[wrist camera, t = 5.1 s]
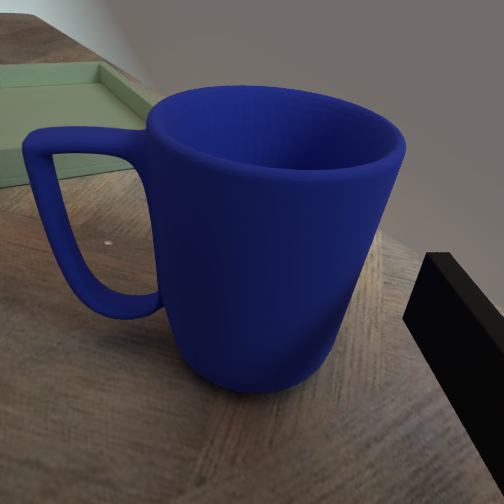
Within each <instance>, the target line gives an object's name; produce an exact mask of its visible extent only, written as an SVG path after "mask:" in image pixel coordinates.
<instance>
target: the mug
mask: <svg viewBox="0 0 504 504" xmlns="http://www.w3.org/2000/svg"><path fill="white" fill-rule="evenodd" d="M405 151H406V143H405V139H404V137H403V136H402V134H401V132H400V131H399V130H398V128H396V127H395V126H394V125H393V124H392V123H391V122H389V121H388V120H387V119H385V118H384V117H382V116H380V115H378V114H376V113H375V112H373V111H370V110H368V109H366V108H363V107H361V106H358V105H356V104H353V103H350V102H347V101H344V100H341V99H337V98H333V97H329V96H326V95H321V94H317V93H312V92H306V91H301V90H294V89H287V88H278V87H267V86H245V85H240V86H216V87H205V88H199V89H193V90H188V91H185V92H181V93H177V94H175V95H172V96H169V97H167V98H165V99H163V100H161V101H160V102H158V103H157V104H156V105H155V106H154V107H153V108H152V109H151V110H150V112H149V113H148V116H147V120H146V128H145V129H142V130H133V129H122V128H111V127H96V126H60V127H47V128H39V129H36V130H34V131H32V132H30V133H29V134H28V135H27V136H26V138H25V139H24V140H23V142H22V154H23V159H24V164H25V168H26V171H27V175H28V178H29V181H30V185H31V188H32V191H33V195H34V198H35V201H36V205H37V208H38V211H39V214H40V217H41V220H42V223H43V226H44V229H45V232H46V235H47V238H48V241H49V243H50V246H51V248H52V251H53V253H54V255H55V258H56V260H57V263H58V265H59V267H60V269H61V271H62V273H63V275H64V277H65V279H66V281H67V282H68V284H69V286H70V287H71V289H72V291H73V292H74V293H75V295H76V296H77V297H78V298H79V300H80V301H81V302H82V303H84V304H85V305H86V306H87V307H88V308H90V309H91V310H93V311H94V312H96V313H98V314H100V315H103V316H105V317H109V318H113V319H120V320H132V319H138V318H142V317H146V316H149V315H151V314H153V313H155V312H156V311H158V310H160V309H161V308H163V307H165V309H166V312H167V316H168V319H169V323H170V326H171V330H172V333H173V336H174V339H175V342H176V344H177V346H178V349H179V351H180V353H181V354H182V356H183V357H184V359H185V360H186V362H187V363H188V364H189V365H190V366H191V367H192V368H193V369H194V370H195V371H196V372H197V373H198V374H199V375H201V376H202V377H204V378H205V379H207V380H209V381H210V382H212V383H214V384H216V385H218V386H221V387H223V388H226V389H229V390H233V391H238V392H243V393H253V394H258V393H272V392H277V391H281V390H284V389H288V388H290V387H292V386H295V385H297V384H299V383H301V382H302V381H304V380H305V379H307V378H308V377H309V376H311V375H312V374H313V373H314V372H315V371H316V370H317V369H318V368H319V367H320V366H321V364H322V363H323V362H324V360H325V359H326V357H327V356H328V354H329V352H330V351H331V349H332V346H333V344H334V341H335V339H336V336H337V334H338V331H339V328H340V326H341V323H342V321H343V318H344V315H345V313H346V310H347V307H348V305H349V302H350V299H351V297H352V294H353V291H354V289H355V286H356V283H357V281H358V278H359V275H360V273H361V270H362V267H363V265H364V262H365V260H366V257H367V254H368V252H369V249H370V246H371V244H372V241H373V238H374V236H375V233H376V230H377V228H378V225H379V222H380V220H381V217H382V214H383V212H384V209H385V206H386V204H387V201H388V198H389V196H390V193H391V190H392V188H393V185H394V182H395V180H396V177H397V175H398V172H399V169H400V167H401V164H402V161H403V159H404V155H405ZM68 153H83V154H100V155H108V156H113V157H119V158H121V159H123V160H126V161H127V162H129V163H130V164H131V165H132V166H133V167H134V168H135V170H136V171H137V172H138V174H139V176H140V178H141V180H142V183H143V186H144V190H145V194H146V198H147V203H148V208H149V214H150V220H151V226H152V234H153V242H154V251H155V261H156V271H157V283H158V292H155V293H153V294H148V295H125V294H122V293H118V292H115V291H113V290H111V289H109V288H107V287H106V286H104V285H103V284H101V283H100V282H99V281H98V280H97V279H96V278H95V277H94V275H93V274H92V272H91V271H90V270H89V268H88V266H87V265H86V263H85V261H84V259H83V257H82V255H81V253H80V250H79V248H78V246H77V243H76V240H75V237H74V235H73V232H72V229H71V226H70V223H69V219H68V216H67V212H66V209H65V205H64V202H63V198H62V194H61V190H60V186H59V182H58V178H57V174H56V170H55V166H54V161H53V156H52V155H54V154H68Z"/></svg>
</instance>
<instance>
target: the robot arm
mask: <svg viewBox="0 0 504 504" xmlns="http://www.w3.org/2000/svg"><path fill="white" fill-rule="evenodd" d="M402 319H403V321H404V322H405V324H406V326H407V328H408V329H409V331H410V333H411V335H412V336H413V338H414V340H415V342H416V343H417V345H418V347H419V349H420V351H421V352H422V354H423V356H424V358H425V359H426V361H427V363H428V365H429V366H430V368H431V370H432V372H433V373H434V375H435V377H436V379H437V380H438V382H439V384H440V386H441V387H442V389H443V391H444V393H445V394H446V396H447V398H448V400H449V401H450V403H451V405H452V407H453V408H454V410H455V412H456V414H457V415H458V417H459V419H460V421H461V422H462V424H463V426H464V428H465V429H466V431H467V433H468V435H469V437H470V438H471V440H472V442H473V444H474V445H475V447H476V449H477V451H478V452H479V454H480V456H481V458H482V459H483V461H484V463H485V465H486V466H487V468H488V470H489V472H490V473H491V475H492V477H493V479H494V480H495V482H496V484H497V486H498V487H499V489H500V491H501V493H502V494H503V496H504V317H503V316H502V315H501V314H500V313H499V311H498V310H497V309H496V308H495V307H494V305H493V304H492V303H491V302H490V301H489V299H488V298H487V297H486V296H485V295H484V294H483V292H482V291H481V290H480V289H479V287H478V286H477V285H476V284H475V283H474V282H473V280H472V279H471V278H470V277H469V276H468V274H467V273H466V272H465V271H464V270H463V268H462V267H461V266H460V265H459V264H458V262H457V261H456V260H455V259H454V258H453V256H452V255H451V254H450V253H449V252H445V253H444V252H434V253H433V252H427V253H426V255H425V257H424V260H423V263H422V266H421V268H420V271H419V274H418V277H417V279H416V282H415V285H414V288H413V290H412V293H411V296H410V299H409V301H408V304H407V307H406V310H405V312H404V315H403V318H402Z"/></svg>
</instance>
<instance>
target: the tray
mask: <svg viewBox="0 0 504 504" xmlns="http://www.w3.org/2000/svg"><path fill="white" fill-rule="evenodd" d="M156 104H157V102H156V101H155V100H153V99H152V98H151V97H150V96H148V95H147V94H146V93H144V92H143V91H142V90H140V89H139V88H138V87H137V86H135V85H134V84H133V83H131V82H130V81H129V80H127V79H126V78H125V77H124V76H122V75H121V74H120V73H118V72H117V71H116V70H114V69H113V68H112V67H111V66H109V65H108V64H107V63H105V62H104V61H99V62H70V63H42V64H13V65H0V188H3V187H10V186H17V185H23V184H30V181H29V178H28V175H27V171H26V168H25V164H24V159H23V154H22V142H23V140H24V139H25V138H26V136H27V135H28V134H29V133H30V132H32V131H34V130H36V129H39V128H47V127H60V126H96V127H111V128H122V129H133V130H142V129H145V128H146V120H147V116H148V113H149V112H150V110H151V109H152V108H153V107H154V106H155V105H156ZM52 156H53V161H54V166H55V170H56V174H57V178H58V179H63V178H70V177H77V176H83V175H90V174H97V173H103V172H110V171H117V170H123V169H130V168H134V167H133V166H132V165H131V164H130V163H129V162H127V161H126V160H123V159H121V158H119V157H113V156H108V155H100V154H83V153H68V154H54V155H52Z"/></svg>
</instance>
